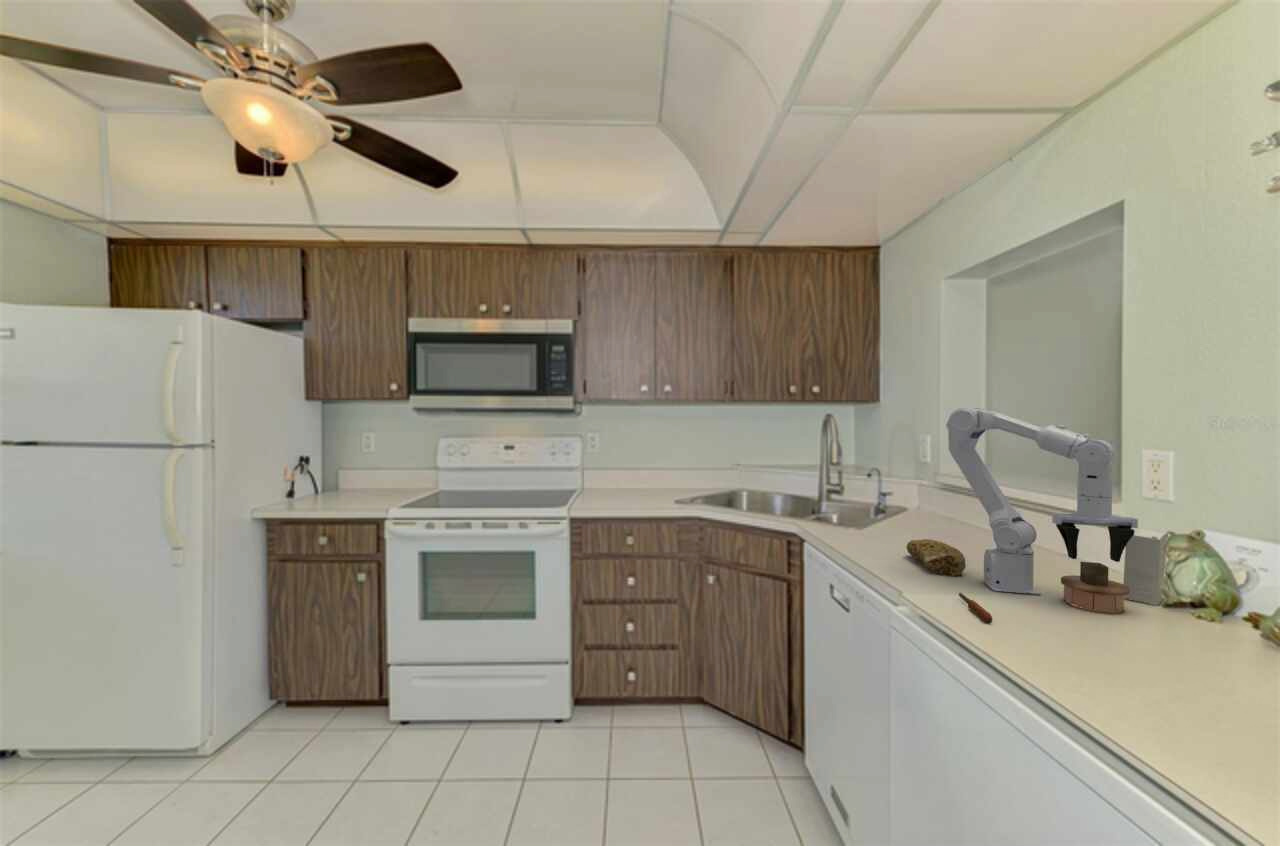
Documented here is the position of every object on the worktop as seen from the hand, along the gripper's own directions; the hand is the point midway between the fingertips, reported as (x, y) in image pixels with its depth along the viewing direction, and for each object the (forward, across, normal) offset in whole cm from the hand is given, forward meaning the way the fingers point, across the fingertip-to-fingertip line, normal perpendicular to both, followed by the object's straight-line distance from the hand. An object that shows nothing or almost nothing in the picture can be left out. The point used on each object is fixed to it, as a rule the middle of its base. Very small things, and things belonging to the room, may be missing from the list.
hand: (1093, 559), depth 117 cm
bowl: (+10, 0, 0) cm, 10 cm away
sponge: (+10, -25, +24) cm, 37 cm away
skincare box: (+10, +13, +8) cm, 18 cm away
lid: (+6, 0, 0) cm, 6 cm away
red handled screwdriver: (+10, -26, -11) cm, 30 cm away
